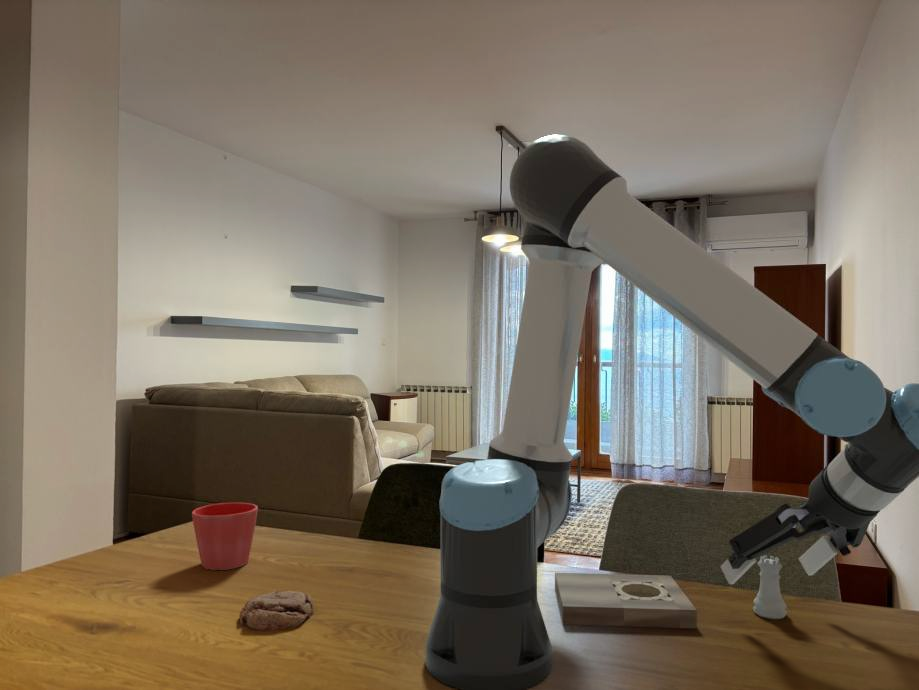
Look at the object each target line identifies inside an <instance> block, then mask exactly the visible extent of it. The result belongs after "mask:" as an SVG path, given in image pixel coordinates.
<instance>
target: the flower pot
mask: <svg viewBox="0 0 919 690" xmlns="http://www.w3.org/2000/svg"><path fill="white" fill-rule="evenodd" d="M258 511H259V507H258V505H256V504H254V503H251V502H250V503H249V502H221V503H220V502H219V503H214V504H208V505H204V506H200V507H197V508H195V509H194V510H193V511H192V512H191V518H192V522H193V523H192V525H193V528H194V533H195V539H196V544H197V549H198V553H199V558H200V559H199V560H200V563H201V566H202V568H204V569H205V570H209V569H210V571H217V570H219V571H226V570H233V569H237V568H239V567H240V568H241V567H243V566H245V565H246V564H247V563H248V562H249V560H250V555H251V549H252V545H253V541H254V535H255V530H256V529H255V528H256V524H257V518H258V517H257V516H258Z"/></svg>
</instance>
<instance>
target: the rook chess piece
mask: <svg viewBox="0 0 919 690" xmlns="http://www.w3.org/2000/svg"><path fill="white" fill-rule="evenodd" d="M756 563H757V565H758V567H759V569H760V572H759V573H758V575H759V576H760V583H759V587H758V588H759V589H758V592H757V594H756V597H755V598H754V600H753V604H754V606H753V607H752V609H753V611H754V613H755V614H756V615H757V616H758V617H760V618H764V619H768V620H782V619H784V618H785V617H786V615H788V612H787V611H786V609H787V608H788V607H787V604H786V602H785V601H784V598H783V596H782V594H781V587H780V579H781V575H780V570H781V569H782V568H783V565H782V564H781V563H780V558H779V557H775V556H772V555H770V556H769V558H768V555H763V556H762V555H760V556H759V561H758V562H756Z"/></svg>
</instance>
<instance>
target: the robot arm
mask: <svg viewBox="0 0 919 690" xmlns="http://www.w3.org/2000/svg"><path fill="white" fill-rule="evenodd" d="M510 171H511V172H510V176H509V191H510V198H511V200H512V202H513V205H514V208H515V209H516V211H517V212H518V213H519V215H521V217H522V218H523V219H524V220H525V221H524V227H523V230H522V238H521V244H520V245H521V247H520V250H521V251H522V252H523V254H524V255H525V257H526V258H527V260H528V262H529V263H528V264H529V265H528V271H527V277H526V284H525V288H524V289H525V290H524V297H523V303H522V308H521V309H522V310H521V314H520V322H519V326H518V334H517V337H516V338H517V339H516V346H515V351H514V352H515V353H514V359H513V364H512V370H511V376H510V383H509V390H508V394H507V395H508V396H507V402H506V408H505V413H504V419H503V426H502V431H501V432H500V433H499V434H497V436H496V435H495V437H493V438H492V439H490V441H489V445H488V452H487V457H486V459H479V460H478V459H477V460H474V462H469V461H468V462H464V463H461V464H458V465H456V466H454V467H453V468H450V470H449V471H448V472H446V473H445V475H444V477H443V479H442V481H441V489H440V491H441V493H440V497H439V500H438V501H439V513H440V519H439V520H440V521H439V522H440V523H439V525H440V526H439V527H440V534H439V535H440V538H439V539H440V593H439V595H440V597H439V600H438V604H437V607H436V610H435V614H434V615H433V619H432V622H431V626H430V627H429V632H428V634H427V636H426V637H427V638H426V642H425V666H426V670H427V671H428V672H429V674H430V675H431V676H433V678H435V679H436V680H438V681H439V682H441V683H443V684H445V685H448V686H450V687H453V688H456V689H459V690H524V689H527V688H530V687H532V686H535V685H537V684H538V683H540V682H542V681H543V680H545V679H546V678H547V676H549V674H550V672H551V670H552V668H553V667H552V661H553V657H552V655H553V654H552V653H553V652H552V650H553V649H552V643H551V640H550V637H549V633H548V631H547V627H546V623H545V620H544V618H543V615H542V612H541V608H540V604H539V602H538V601H539V600H538V548H539V547H541V545H542V544H543V543H544V542H546V541H547V540H548V539H549V538H550V537H551V536H553V535H554V534H556V532H558V530H559V529H560V528H561V527H562V526H563V524H564V523H565V520H566V519H567V517H568V515H569V513H570V510H571V506H572V499H573V493H572V492H573V491H572V486H571V482H570V473H571V467H572V462H573V454H572V453H571V452H570V450H569V449H568V448H567V446H566V444H565V436H566V430H567V422H568V419H569V418H568V417H569V412H570V406H571V405H570V404H571V400H572V393H573V388H574V380H575V375H576V369H577V364H578V363H577V362H578V357H579V352H580V346H581V339H582V334H583V327H584V322H585V321H584V320H585V315H586V307H587V303H588V297H589V291H590V290H589V289H590V284H591V278H592V274H593V273H592V272H593V271H594V270H595V269H596V268H597V267H599V266H600V265H601V264H603V263H605V264H607V265H608V266H609V267H610V268H611V269H613V270H614V271H615V272H616V273H618V274H619V275H620V276H622V277H623V278H624V279H626V280H627V281H628V282H629V283H631V284H632V285H633V286H634V287H635V288H637V289H638V290H640V291H641V292H642V293H643V294H644V295H645V296H647V297H648V298H650V299H651V300H652V301H653V302H655V303H656V304H657V305H658V306H659V307H661V308H662V309H664V310H665V311H666V312H667V313H669V314H670V315H671V316H672V317H674V318H675V319H676V320H677V321H678V322H680V323H682V324H683V325H684V326H685V327H686V328H688V329H689V330H690V331H691V332H693V333H694V334H695V335H696V336H698V337H699V338H701V339H702V341H704V342H705V343H706V344H708V345H709V346H711V347H712V348H713V349H715V350H716V352H718V353H720V354H721V355H722V356H723V357H725V358H726V359H727V360H728V361H730V363H732V364H733V365H735V366H736V367H737V368H738V369H740V370H741V371H742V372H743V373H745V374H746V375H747V376H749V378H751V379H752V380H753V381H755V382H756V383H758V384H759V385H760V386H761V390H762V392H763V393H764V395H766V396H767V397H769V398H770V399H772V400H773V401H775V402H777V404H778V405H780V406H781V407H783V408H786V409H789V410H790V411H792V412H793V413H795V414H796V415H797V416H798V417H800V419H802V421H803V422H804V423H805V424H806V425H807V426H809V427H810V428H811V429H813V430H814V431H816V432H817V433H819V434H821V435H824V436H828V437H837V438H839V439H840V440H842V441H843V442H845V444H844V446H843V449H842V450H841V451H840V452H839V453H838V454H837V455H836V456H835V457H834V458H833V459H832V460H831V462H830V463H828V465H827V466H825V467H824V468H823V469H822V470H821V471H820V473H818V475H816V476H815V478H813V480H812V481H811V482H810V484H809V487H808V500H807V501H806V502H803V503H801V504H800V506H798V507H797V508H792V506H791V505H790V504H789V503H784V504H781V505H780V506H779V507H778V508H777V509H776V510H774V511H773V512H772V513H771V514H769V515H767V516H766V517H765V518H762V520H760V521H758V522H757V523H755V524H753V525H751V526H750V527H749V528H747V529H746V530H744V531H742V532H740V533H739V534H737V535H736V536H734V537H733V538H732V537H731V539H729V540H728V544H729V547H731V550H732V551H733V552H732V553H731V554H730V556H729V557H728V558H727V559H726V560H725V561H724V562H723V563H722V564H721V565H720V566H719V567H720V568H721V571H722V573H723V575H724V576H725V579H726V580H727V583H728V585H734V584H735V583H736V582H738V580H740V578H742V576H744V575H745V573H746V572H748V570H749V569H750V568H752V566H753V565H754V564H756V563H757V561H758V560H757V559H756V558H758V557H761V556H762V555H764V554H766V553H768V552H771V551H772V550H775V549H776V548H779V547H781V546H783V545H785V544H787V543H789V542H792V541H795V540H797V541H802V540H805V539H807V538H810V537H811V536H812V537H813V536H814V535H816V534H826V535H822V536H821V537H820V538H819V539H817V541H816V542H814V544H812V545H811V546H810V547H809V548H808V549H807V550H806V551H805V552H804V553H803V554H801V556H799V557H798V558H797V559H798V560H799V562H800V563H801V566H802V568H803V570H804V571H805V572H806V574H807V576H813V575H815V574H816V573H817V572H818V571H819V570H820V569H822V568H823V567H824V566H825V565H826V564H827V563H828V562H830V561H831V560H832V559H833V558H834V557H835V556H837V555H838V554H839V552H840V554H841V555H842V557H846V556H849V555H850V554H851V553H852V552H851V549H850V548H849V547H848V546H851V547H852V548H853V549H854V548H858V547H859V546H860V545H861V544H862V542H863V540H864V538H865V536H866V532H867V530H868V528H869V526H870V524H871V522H872V521H873V520H874V519H875V518H876V517H877V516H878V514H879V513H880V512H881V511H882V510H884V509H885V508H887V506H889V505H890V504H891V503H892V502H893V501H894V500H895V499H897V497H899V496H900V495H901V494H902V493H903V492H904V491H905V489H907V488H908V486H909V485H910V484H912V483H913V482H915V480H917V479H918V478H919V383H917V382H913V383H908V384H905V385H903V386H901V387H900V388H898V389H897V390H895V391H892V390H890V389H888V388H886V387H885V386H884V384H883V382H882V379H881V378H880V377H879V376H878V375H877V374H876V372H875V371H873V370H872V369H871V368H870V367H869V366H868V365H866V364H865V363H863V362H862V361H860V360H857V359H854V358H852V357H849V356H847V355H846V354H845V353H843V352H842V351H841V350H839V348H837V347H836V346H834V345H833V344H831V343H830V342H829V341H827V340H826V339H824V338H823V337H821V336H820V335H819V334H818V333H817V332H816V331H814V330H813V329H812V328H810V327H809V326H808V325H807V324H805V323H803V321H801V320H799V318H797V317H795V316H794V315H793V314H792V313H790V312H789V311H788V310H786V309H785V308H784V307H782V306H780V304H778V303H777V302H775V301H774V300H773V299H771V298H770V297H769V296H767V295H766V294H764V292H762V291H761V290H759V289H758V288H756V287H755V286H754V285H752V284H751V283H750V282H749V281H748V280H746V279H744V277H742V276H740V275H739V274H737V273H736V272H735V271H734V270H732V269H731V268H729V266H727V265H726V264H724V263H723V262H721V261H720V260H719V259H717V258H716V257H715V256H713V255H712V254H711V253H709V252H708V251H707V250H705V249H704V248H703V247H702V246H700V245H699V244H697V243H696V242H695V241H693V240H692V239H691V238H689V237H688V236H686V235H685V234H684V233H682V232H681V231H680V230H679V229H677V228H676V227H675V226H673V225H671V223H669V222H668V221H667V220H664V218H663V217H661V216H660V215H658V214H657V213H655V212H654V211H653V210H651V209H650V208H649V207H647V206H646V205H644V204H643V203H642V202H641V201H639V200H638V199H637V198H635V197H634V196H633V195H631V194H630V193H629V192H628V185H627V180H626V179H625V177H623V176H622V175H621V174H619V173H618V172H617V171H615V170H613V169H612V168H611V167H610V166H608V164H606V163H605V162H604V161H603V160H602V159H601V158H600V157H599V156H598V155H597V154H596V153H595V152H594V150H593V149H591V147H589V146H588V145H587V144H586V143H585V142H583V141H581V140H580V139H578V138H576V137H574V136H570V135H565V134H552V135H551V134H550V135H547V136H544V137H541V138H539V139H536V140H534V141H532V142H531V143H530V144H528V146H526V147H525V148H524V149H523V150H522V151H521V152H520V153H519V155H518V156H517V158H516V160H515V162H514V164H513V165H512V169H511V170H510ZM797 524H798V525H799V527H800V529H801V530H802V531H799V530H798V528H797ZM827 533H828V535H829V536H828V535H827Z"/></svg>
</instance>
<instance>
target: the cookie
mask: <svg viewBox="0 0 919 690" xmlns="http://www.w3.org/2000/svg"><path fill="white" fill-rule="evenodd" d="M314 614H315V613H314V599H313V597H312V596H311V595H310V594H308V593H305V592H301V591H298V590H296V591H295V590H285V591H280V592H279V591H278V590H274V591H272V592H268V593H266V594H262V595H255V596H252V597H250V598H248V600H247V601H246V602H245V605H244V606H243V607H242V608H241V609H240V612H239V624H240V625H241V626H244V625H245V626H246V627H248V629H251V630H253V631H260V632H261V631H263V632H264V631H277V630H288V629H292V628H296V627H297V626H301V625H302V624H303V623H304V622H305V621H306V619H311V616H313V615H314Z"/></svg>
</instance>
